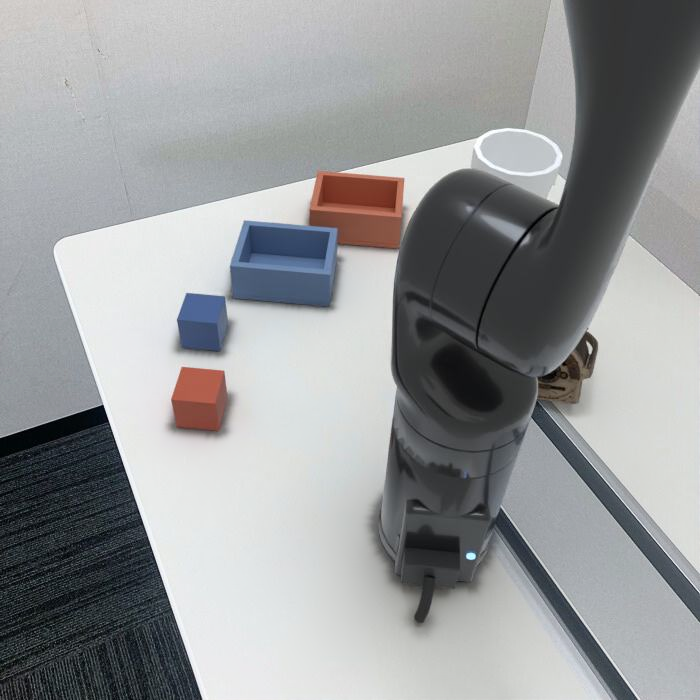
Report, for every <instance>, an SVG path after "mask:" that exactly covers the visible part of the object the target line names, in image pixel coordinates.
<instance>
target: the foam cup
mask: <svg viewBox="0 0 700 700" xmlns="http://www.w3.org/2000/svg"><path fill="white" fill-rule="evenodd" d="M563 157H564V155H563V153H562V151H561V149H560V147H559V146H558V144H557V143H555V142H554V141H552V140H551V139H550V138H548V137H547V136H545V135H543V134H540V133H538V132H534V131H531V130H528V129H523V128H522V129H521V128H513V127H511V128H509V127H505V128H498V129H492V130H489V131H487V132H485V133H484V134H482V135H480V136H478V137H477V139H476V142H475V144H474V145H473V151H472V156H471V161H470V168H472V169H478V170H482V171H485V172H488V173H490V174H493V175H495V176H497V177H499V178H501V179H504V180H506V181H508V182H510V183H512V184H514V185H516V186H519V187H521V188H523V189H525V190H528V191H530V192H532V193H534V194H536V195H538V196H540V197H543V198H545V199H547V200H548V196H549V194H550V192H551V189H552V187H553V186H555V185H556V181H557V178H558V175H559V172H560V168H561V164H562V160H563Z"/></svg>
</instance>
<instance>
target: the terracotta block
mask: <svg viewBox="0 0 700 700" xmlns="http://www.w3.org/2000/svg"><path fill="white" fill-rule="evenodd" d="M226 381H227V380H226V372H225V370H221V369H214V368H213V369H212V368H211V369H210V368H202V367H201V368H199V367H191V366H181V368H180V370H179V373H178V377H177V380H176V384H175V386H174V389H173V391H172V396H171V398H170V401H171V406H172V410H173V415H174V421H175V424H176V428H184V429H195V430H205V431H216V432H220V429H221V426H222V422H223V419H224V415H225V410H226V407H227V404H228V399H229V397H228V388H227V382H226Z"/></svg>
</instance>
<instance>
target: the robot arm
mask: <svg viewBox="0 0 700 700" xmlns="http://www.w3.org/2000/svg"><path fill="white" fill-rule="evenodd" d="M562 5H563V10H564V16H565V21H566V27H567V33H568V34H567V35H568V40H569V47H570V52H571V60H572V69H573V77H574V95H575V96H574V98H575V119H574V121H575V122H574V135H573V142H572V148H571V154H570V160H569V164H568V168H567V173H566V178H565V182H564V185H563V189H562V194H561V197H560V201H559V204H558V203H556V202H553V201H551V200H549V199H548V198H547V199H545V198H543V197H540V196H538V195H536V194H534V193H532V192H530V191H528V190H525V189H523V188H521V187H519V186H516V185H514V184H512V183H510V182H508V181H506V180H504V179H501V178H499V177H497V176H495V175H493V174H490V173H488V172H485V171H482V170H478V169H472V168H471V167H470V168H461V169H457V170H453V171H452V172H449V173H447V174H446V175H444V176H443V177H441V178H440V179H439V180H438V181H437V182H435V183H434V184H433V185H432V186H431V187H430V188H429V189H428V191H427V192H426V193H425V194H424V196H423V197H422V198H421V200H420V201H419V203H418V205H417V206H416V208H415V210H414V211H413V213H412V215H411V217H410V219H409V221H408V224H407V226H406V228H405V231H404V234H403V237H402V240H401V244H400V246H399V250H398V255H397V259H396V265H395V271H394V279H393V291H392V317H391V344H390V346H391V347H390V371H391V376H392V379H393V382H394V384H395V386H396V389H395V398H394V406H393V414H392V420H391V427H390V435H389V444H388V453H387V460H386V466H385V467H386V468H385V475H384V476H385V477H384V484H383V491H382V501H381V505H380V509H379V514H378V532H379V537H380V538H379V539H380V541H381V544H382V546H383V548H384V549H385V551H386V552H387V554H388V555H389V557H390V558H391V559H392V561H394V573H395V574H396V575H399V576H400V584H402V585H403V584H404V585H413V586H422V587H421V594H420V599H419V603H418V607H417V610H416V612H415V613H414V616H413V618H414V621H415V622H416V623H419V624H422V623H425V620H426V619H427V616H428V615H429V612H430V609H431V606H432V601H433V597H434V596H433V595H434V590H435V588H442V589H453V590H454V589H455V588H456V587H457V586H456V585H457V583H458V582H465V583H466V582H467V583H471V582H472V581H473V578H474V575H475V573H476V569H477V567H478V565H479V564H480V563H481V562H482V561H483V559H484V558H485V556H486V554H487V552H488V549H489V546H490V544H491V540H492V536H493V531H494V528H495V525H496V522H497V519H498V515H499V513H500V510H501V506H502V503H503V501H504V498H505V494H506V492H507V489H508V487H509V483H510V480H511V476H512V473H513V471H514V467H515V465H516V462H517V458H518V456H519V453H520V450H521V447H522V444H523V442H524V438H525V435H526V432H527V430H528V427H529V424H530V421H531V419H532V416H533V413H534V410H535V407H536V404H537V400H538V399H537V396H538V378H537V377H541V376H544V375H546V374H548V373H550V372H552V371H553V370H555V369H556V368H557V367H559V366H560V365H561V364H562V363H563V362H564V361H565V360H566V359H567V358H568V356H569V355H570V354H571V352H572V351H573V350H574V349H575V347H576V346H577V344H578V343H579V341H580V340H581V338H582V337H583V335H584V333H585V332H586V330H587V328H588V329H589V327H590V325H591V323H592V321H593V319H594V317H595V316H596V313H597V311H598V309H599V307H600V305H601V302H602V301H603V299H604V297H605V294H606V292H607V289H608V287H609V284H610V282H611V280H612V278H613V275H614V272H615V271H616V268H617V266H618V263H619V261H620V258H621V256H622V254H623V251H624V248H625V246H626V243H627V241H628V239H629V236H630V233H631V231H632V229H633V226H634V224H635V221H636V219H637V216H638V214H639V211H640V208H641V206H642V204H643V201H644V199H645V196H646V194H647V191H648V189H649V187H650V184H651V181H652V178H653V176H654V174H655V171H656V169H657V167H658V164H659V161H660V160H661V159H660V158H661V156H662V154H663V151H664V150H665V147H666V144H667V141H668V139H669V137H670V135H671V132H672V130H673V128H674V125H675V123H676V120H677V118H678V117H679V114H680V112H681V109H682V107H683V105H684V102H685V101H686V99H687V96H688V94H689V92H690V90H691V88H692V86H693V84H694V81H695V79H696V78H697V76H698V74H699V71H700V0H562ZM587 331H588V330H587Z"/></svg>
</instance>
